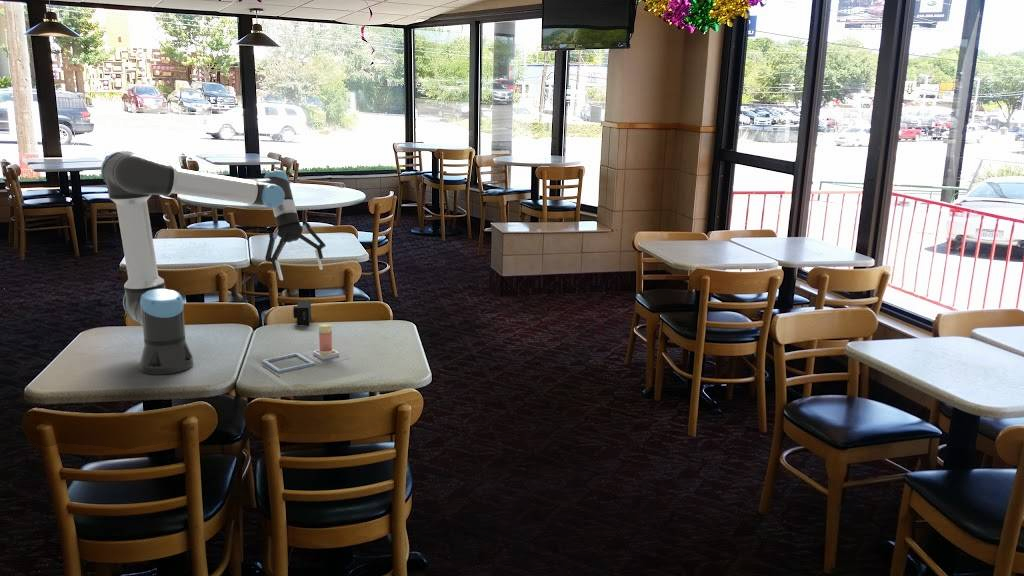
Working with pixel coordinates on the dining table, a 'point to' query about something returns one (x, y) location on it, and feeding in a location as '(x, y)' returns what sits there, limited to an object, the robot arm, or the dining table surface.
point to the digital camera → (303, 312)
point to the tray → (309, 363)
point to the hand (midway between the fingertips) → (301, 274)
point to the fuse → (325, 339)
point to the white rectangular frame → (326, 356)
